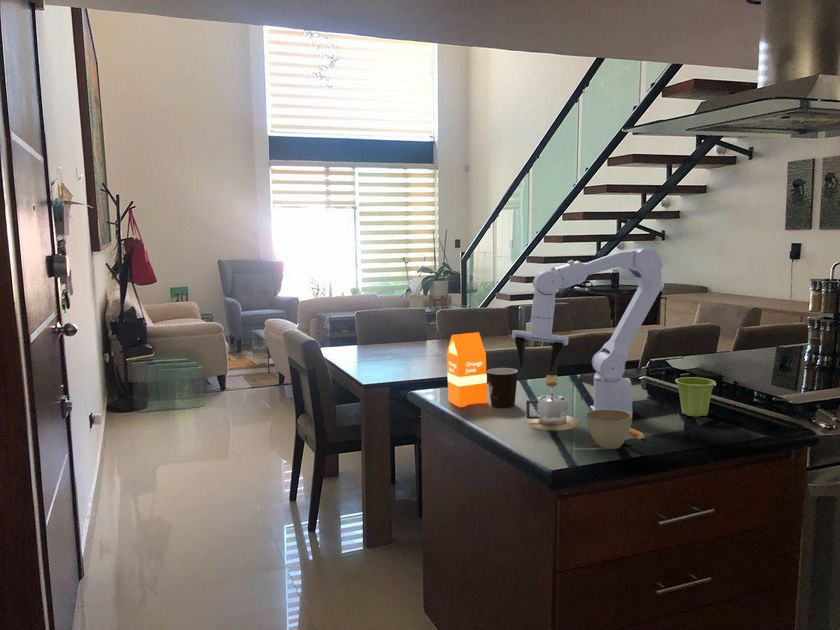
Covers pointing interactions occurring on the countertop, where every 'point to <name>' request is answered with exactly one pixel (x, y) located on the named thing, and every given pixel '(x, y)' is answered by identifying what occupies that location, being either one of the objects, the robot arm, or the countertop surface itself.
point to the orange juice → (466, 370)
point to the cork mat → (570, 424)
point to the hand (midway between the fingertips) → (536, 368)
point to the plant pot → (695, 395)
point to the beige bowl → (609, 427)
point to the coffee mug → (502, 387)
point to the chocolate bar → (636, 434)
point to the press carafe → (549, 411)
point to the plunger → (551, 388)
